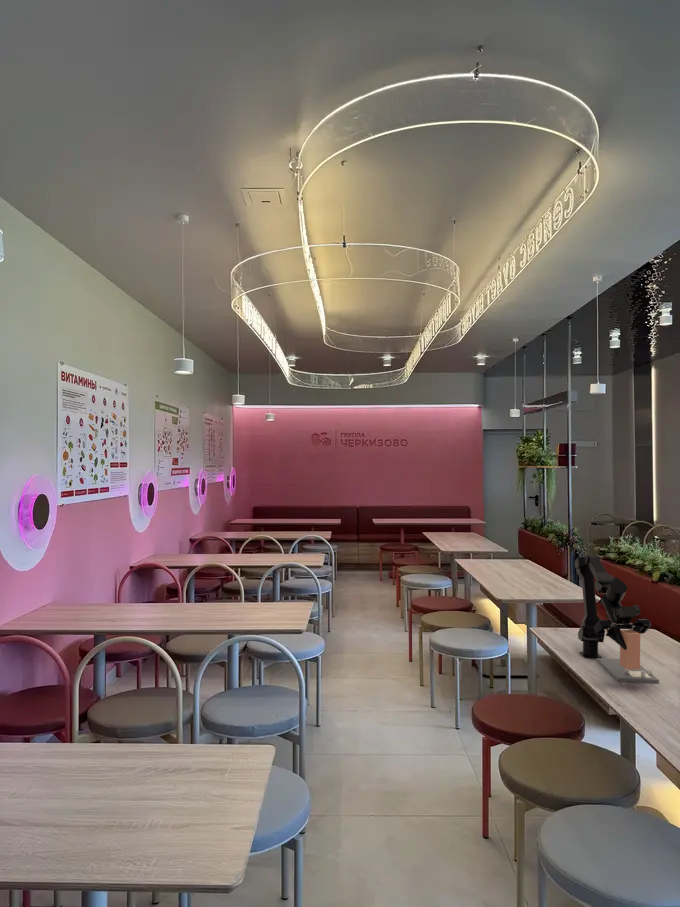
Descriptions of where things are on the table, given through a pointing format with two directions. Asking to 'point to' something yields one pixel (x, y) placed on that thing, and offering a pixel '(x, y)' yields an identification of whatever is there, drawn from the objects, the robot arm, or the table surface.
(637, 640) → the terracotta block
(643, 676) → the base plate
